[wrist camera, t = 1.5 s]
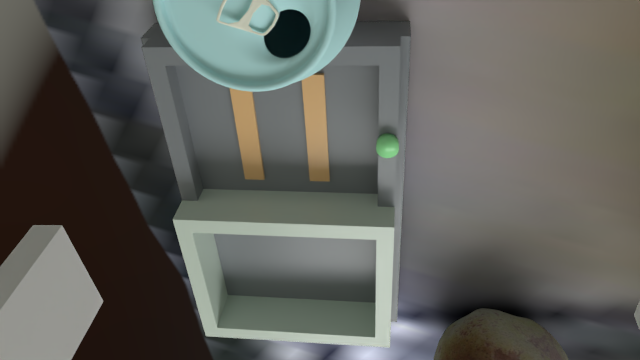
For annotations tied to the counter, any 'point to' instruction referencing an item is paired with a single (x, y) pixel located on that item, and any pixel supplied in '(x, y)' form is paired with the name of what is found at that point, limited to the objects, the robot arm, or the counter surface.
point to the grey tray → (292, 191)
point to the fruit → (497, 339)
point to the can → (257, 38)
